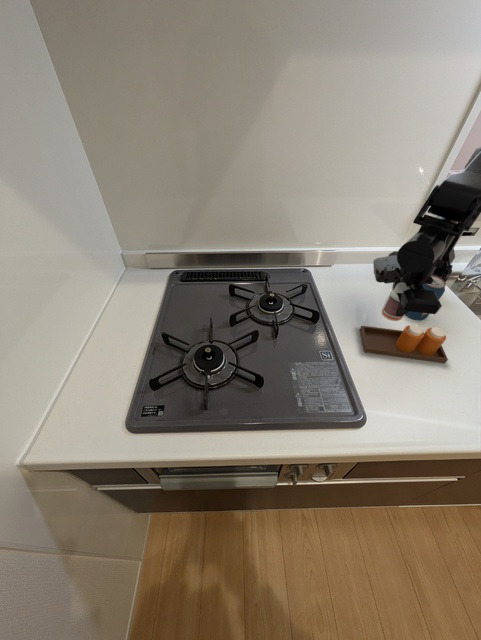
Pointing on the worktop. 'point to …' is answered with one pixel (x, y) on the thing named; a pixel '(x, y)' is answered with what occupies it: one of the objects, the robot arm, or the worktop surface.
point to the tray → (393, 345)
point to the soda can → (436, 286)
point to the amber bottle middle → (410, 338)
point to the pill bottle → (393, 303)
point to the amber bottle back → (431, 341)
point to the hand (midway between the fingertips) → (395, 308)
